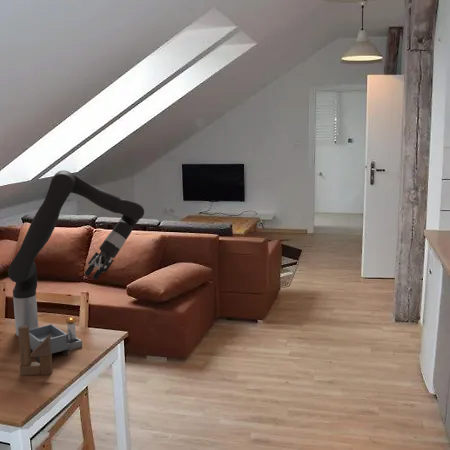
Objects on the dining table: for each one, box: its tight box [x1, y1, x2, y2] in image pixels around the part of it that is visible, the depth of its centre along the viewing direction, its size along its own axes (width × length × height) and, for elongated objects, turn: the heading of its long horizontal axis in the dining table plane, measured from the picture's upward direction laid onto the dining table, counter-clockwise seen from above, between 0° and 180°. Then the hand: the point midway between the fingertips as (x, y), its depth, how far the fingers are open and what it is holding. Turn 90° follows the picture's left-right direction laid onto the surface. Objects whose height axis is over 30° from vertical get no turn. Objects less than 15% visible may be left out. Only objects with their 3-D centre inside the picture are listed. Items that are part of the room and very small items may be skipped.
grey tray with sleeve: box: [29, 323, 83, 363], centre depth 207 cm, size 15×19×9 cm
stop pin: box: [65, 316, 77, 343], centre depth 211 cm, size 4×4×12 cm
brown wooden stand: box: [18, 325, 54, 377], centre depth 187 cm, size 4×11×18 cm, turn 96°
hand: (90, 277), depth 213 cm, fingers open, 8 cm apart
